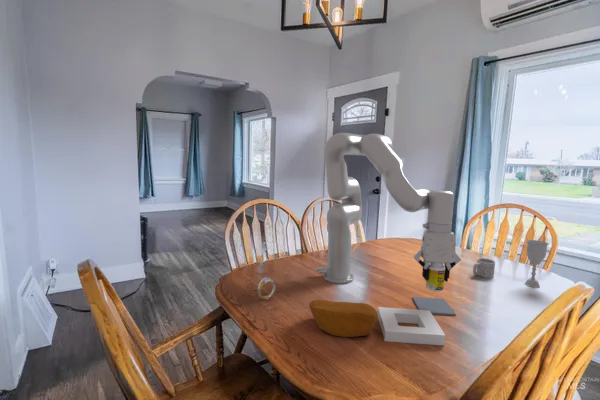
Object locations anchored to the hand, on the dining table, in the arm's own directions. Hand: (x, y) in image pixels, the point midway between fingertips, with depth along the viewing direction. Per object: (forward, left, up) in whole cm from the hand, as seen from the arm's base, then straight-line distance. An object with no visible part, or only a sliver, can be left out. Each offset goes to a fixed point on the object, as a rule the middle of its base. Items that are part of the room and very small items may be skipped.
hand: (435, 279), depth 106 cm
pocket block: (-12, -16, -10) cm, 22 cm away
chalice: (+47, +25, -10) cm, 54 cm away
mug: (+31, +33, -10) cm, 46 cm away
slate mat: (0, 0, -10) cm, 10 cm away
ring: (-58, -2, -10) cm, 59 cm away
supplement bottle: (0, 0, -4) cm, 4 cm away
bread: (-32, -17, -10) cm, 38 cm away
